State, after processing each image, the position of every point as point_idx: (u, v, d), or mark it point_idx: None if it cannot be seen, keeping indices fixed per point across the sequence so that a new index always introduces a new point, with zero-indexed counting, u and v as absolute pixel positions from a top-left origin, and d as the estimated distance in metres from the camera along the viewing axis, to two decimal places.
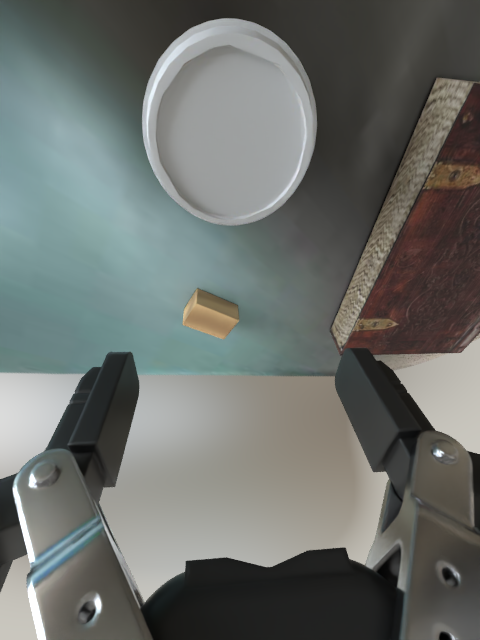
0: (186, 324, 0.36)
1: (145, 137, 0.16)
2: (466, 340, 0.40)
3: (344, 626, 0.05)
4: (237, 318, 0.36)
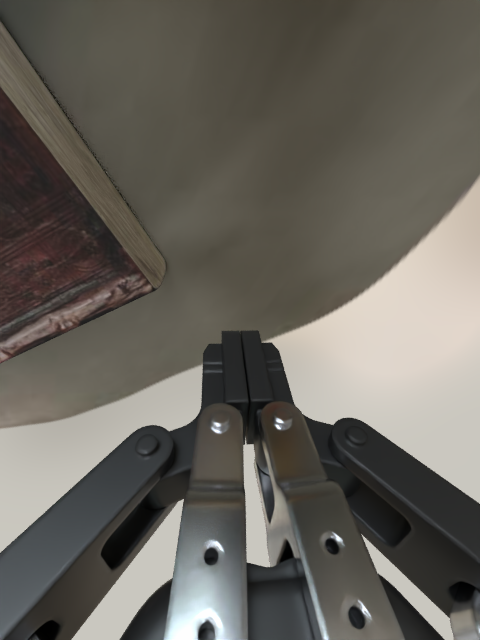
0: None
1: None
2: None
3: None
4: None
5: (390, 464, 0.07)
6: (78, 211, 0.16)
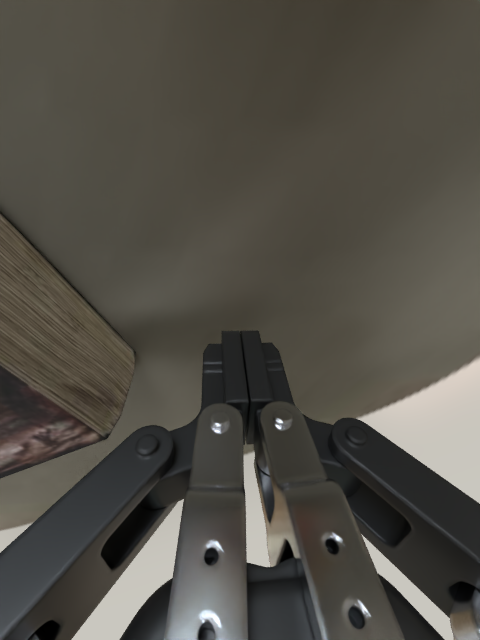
0: None
1: None
2: None
3: None
4: None
5: (390, 464, 0.07)
6: None
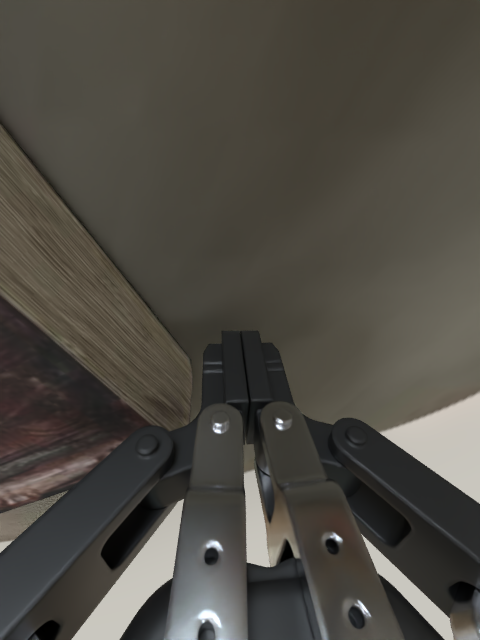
0: None
1: None
2: None
3: None
4: None
5: (390, 464, 0.07)
6: (16, 345, 0.07)
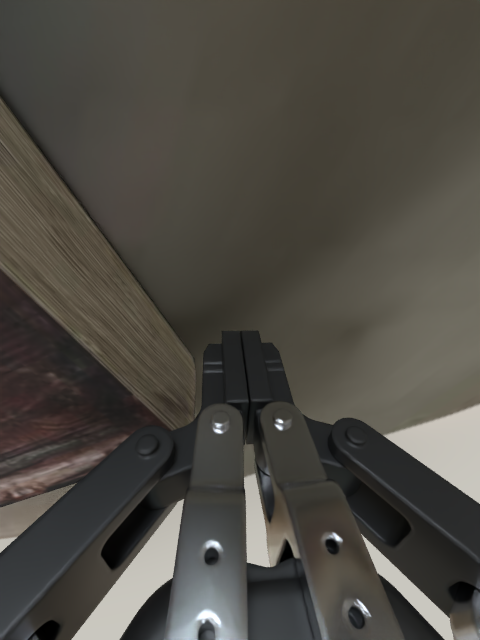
0: None
1: None
2: None
3: None
4: None
5: (390, 464, 0.07)
6: (37, 341, 0.07)
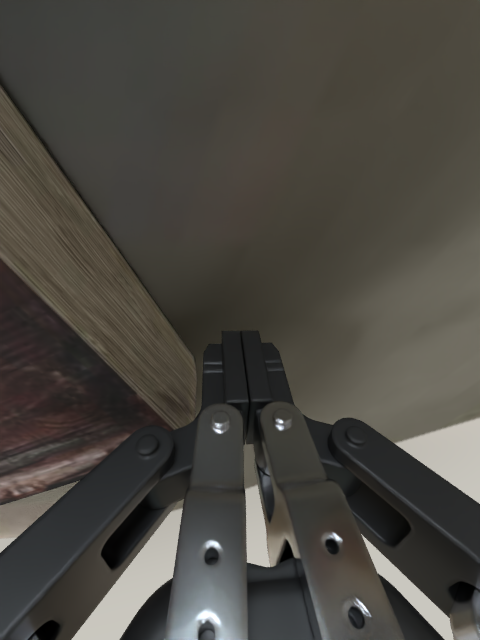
0: None
1: None
2: None
3: None
4: None
5: (390, 464, 0.07)
6: (43, 340, 0.07)
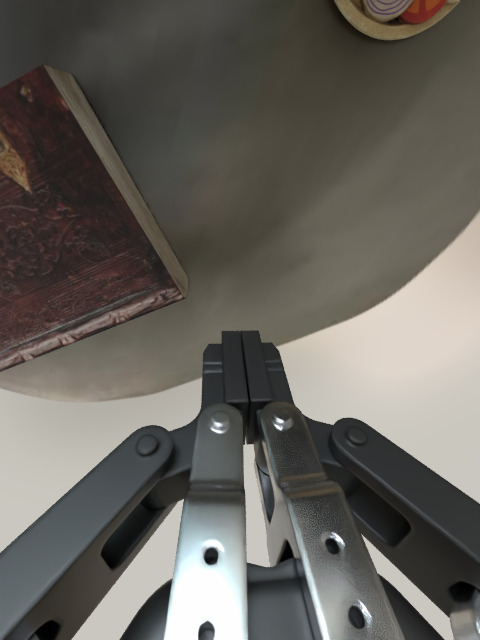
0: None
1: None
2: None
3: None
4: None
5: (390, 464, 0.07)
6: (143, 247, 0.25)
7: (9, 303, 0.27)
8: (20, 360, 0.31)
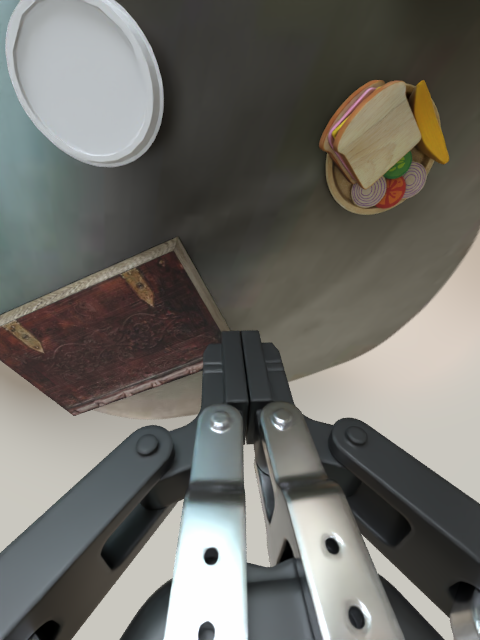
0: None
1: None
2: (83, 407, 0.46)
3: None
4: None
5: (390, 464, 0.07)
6: (214, 331, 0.39)
7: (125, 363, 0.41)
8: (123, 397, 0.46)
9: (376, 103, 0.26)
